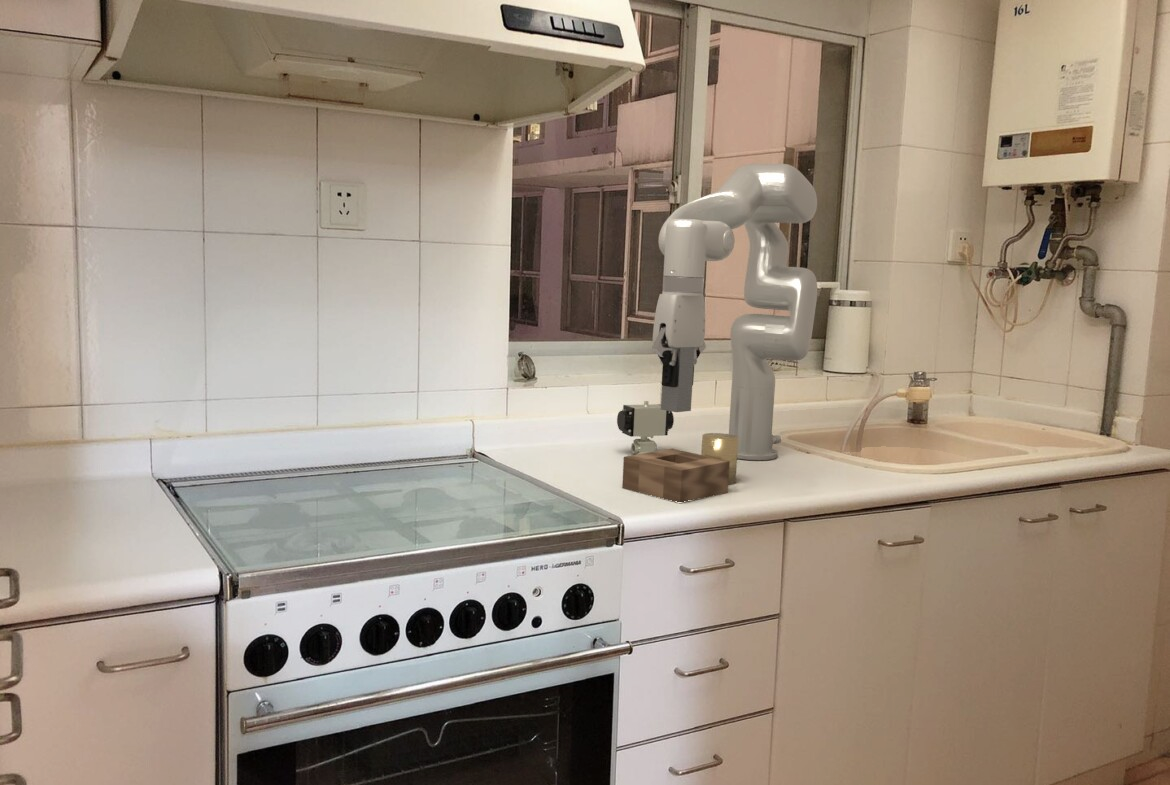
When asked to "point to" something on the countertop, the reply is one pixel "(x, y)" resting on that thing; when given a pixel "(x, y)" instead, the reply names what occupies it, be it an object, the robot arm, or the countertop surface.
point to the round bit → (722, 450)
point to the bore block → (675, 475)
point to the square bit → (680, 383)
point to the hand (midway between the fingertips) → (677, 384)
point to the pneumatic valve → (644, 425)
